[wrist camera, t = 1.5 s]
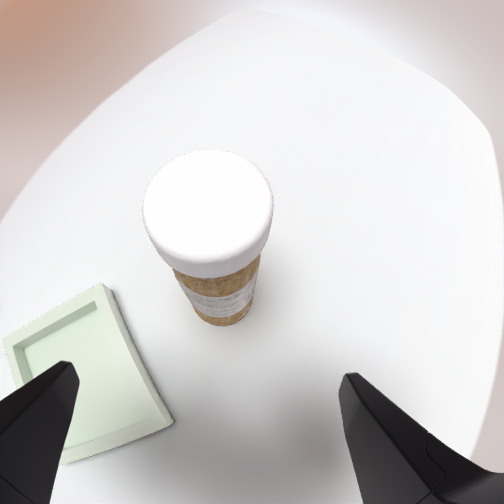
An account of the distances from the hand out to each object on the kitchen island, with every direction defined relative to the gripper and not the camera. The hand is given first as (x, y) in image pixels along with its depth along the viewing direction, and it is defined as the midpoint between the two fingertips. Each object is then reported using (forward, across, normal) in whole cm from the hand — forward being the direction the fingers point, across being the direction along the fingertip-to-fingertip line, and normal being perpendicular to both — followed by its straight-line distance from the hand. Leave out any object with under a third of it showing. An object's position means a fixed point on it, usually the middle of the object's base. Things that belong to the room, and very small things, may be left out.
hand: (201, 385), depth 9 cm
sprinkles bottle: (+13, 0, +5) cm, 14 cm away
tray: (+8, +11, +10) cm, 16 cm away
